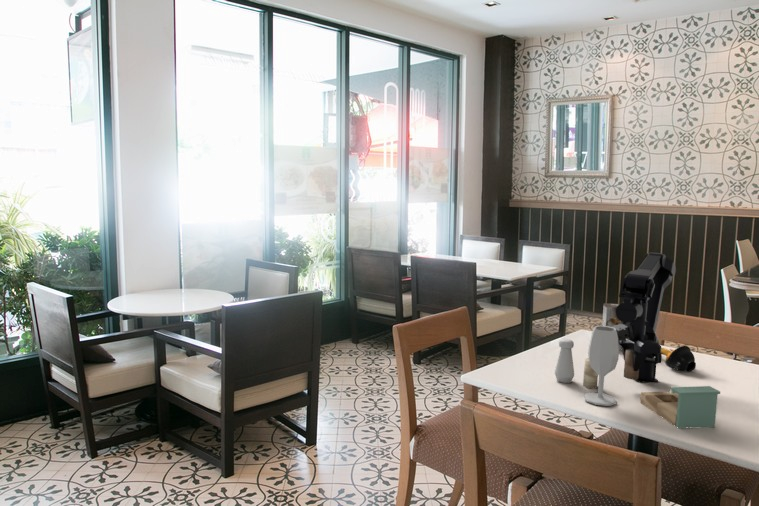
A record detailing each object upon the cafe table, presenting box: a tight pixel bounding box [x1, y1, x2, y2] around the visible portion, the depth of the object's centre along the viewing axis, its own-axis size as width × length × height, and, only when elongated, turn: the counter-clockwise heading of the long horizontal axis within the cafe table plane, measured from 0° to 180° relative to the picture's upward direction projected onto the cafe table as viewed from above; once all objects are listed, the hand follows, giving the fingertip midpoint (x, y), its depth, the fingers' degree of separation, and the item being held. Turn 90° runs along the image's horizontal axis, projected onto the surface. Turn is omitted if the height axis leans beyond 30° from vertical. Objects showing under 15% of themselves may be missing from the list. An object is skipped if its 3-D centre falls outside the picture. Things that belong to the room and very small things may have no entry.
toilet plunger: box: [661, 345, 697, 373], centre depth 203 cm, size 9×11×18 cm
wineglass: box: [583, 325, 620, 407], centre depth 169 cm, size 9×9×21 cm
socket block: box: [640, 391, 679, 427], centre depth 162 cm, size 10×16×3 cm, turn 7°
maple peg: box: [582, 357, 599, 389], centre depth 182 cm, size 4×4×8 cm
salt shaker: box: [554, 338, 575, 384], centre depth 186 cm, size 6×6×13 cm
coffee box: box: [601, 302, 622, 351], centre depth 223 cm, size 9×6×16 cm
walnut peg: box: [623, 349, 639, 380], centre depth 177 cm, size 4×4×8 cm
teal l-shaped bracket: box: [669, 385, 721, 429], centre depth 154 cm, size 11×4×9 cm, turn 97°
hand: (631, 368), depth 178 cm, fingers closed on walnut peg, 4 cm apart
